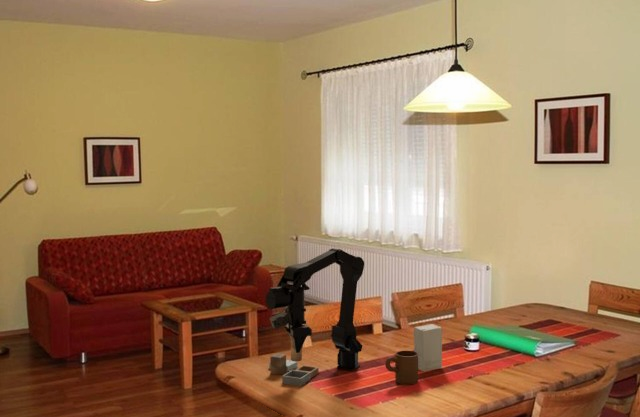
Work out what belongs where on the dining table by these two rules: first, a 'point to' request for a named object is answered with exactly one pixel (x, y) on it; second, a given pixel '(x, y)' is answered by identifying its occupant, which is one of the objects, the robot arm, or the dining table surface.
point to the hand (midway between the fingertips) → (296, 351)
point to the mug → (404, 367)
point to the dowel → (295, 355)
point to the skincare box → (428, 346)
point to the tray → (296, 377)
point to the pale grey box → (290, 365)
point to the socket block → (309, 370)
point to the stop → (278, 364)
